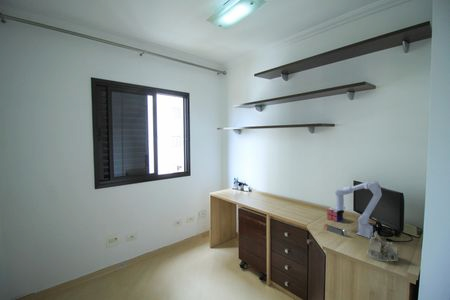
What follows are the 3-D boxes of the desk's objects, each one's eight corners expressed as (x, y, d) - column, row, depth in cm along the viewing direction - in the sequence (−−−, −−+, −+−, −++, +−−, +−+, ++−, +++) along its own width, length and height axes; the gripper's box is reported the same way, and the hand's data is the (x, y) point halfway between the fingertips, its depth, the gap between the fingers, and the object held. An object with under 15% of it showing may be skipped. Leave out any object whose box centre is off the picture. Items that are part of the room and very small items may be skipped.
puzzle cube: (337, 222, 197) (337, 211, 197) (327, 218, 206) (327, 208, 205) (343, 219, 203) (343, 209, 202) (332, 216, 211) (332, 206, 211)
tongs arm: (343, 234, 172) (343, 229, 172) (342, 234, 171) (343, 230, 171) (325, 228, 184) (325, 224, 184) (324, 228, 184) (324, 224, 183)
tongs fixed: (347, 235, 170) (347, 230, 170) (345, 236, 168) (345, 231, 168) (325, 228, 184) (325, 223, 184) (323, 229, 183) (323, 224, 182)
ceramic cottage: (362, 255, 141) (365, 233, 140) (373, 248, 150) (376, 228, 149) (390, 268, 129) (393, 244, 127) (401, 260, 138) (403, 238, 136)
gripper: (339, 200, 190) (339, 215, 190) (330, 203, 181) (330, 219, 182) (347, 202, 184) (347, 217, 185) (339, 205, 175) (339, 221, 176)
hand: (339, 218), depth 183 cm, fingers closed
